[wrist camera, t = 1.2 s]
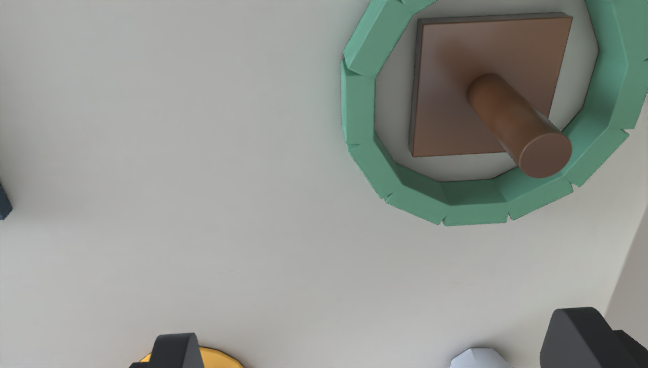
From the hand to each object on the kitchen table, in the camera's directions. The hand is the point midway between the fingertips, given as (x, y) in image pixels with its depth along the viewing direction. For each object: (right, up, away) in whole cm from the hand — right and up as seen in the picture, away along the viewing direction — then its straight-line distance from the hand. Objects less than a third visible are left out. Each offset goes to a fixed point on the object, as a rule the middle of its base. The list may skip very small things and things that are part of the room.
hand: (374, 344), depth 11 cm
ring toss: (+7, +9, +13) cm, 18 cm away
